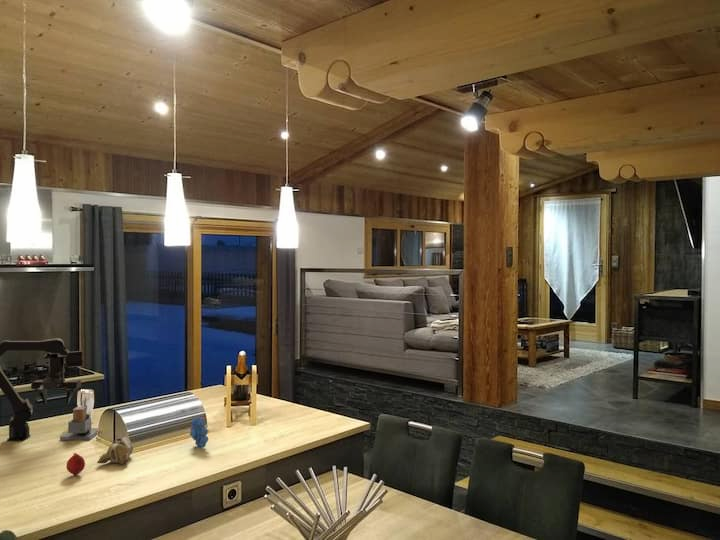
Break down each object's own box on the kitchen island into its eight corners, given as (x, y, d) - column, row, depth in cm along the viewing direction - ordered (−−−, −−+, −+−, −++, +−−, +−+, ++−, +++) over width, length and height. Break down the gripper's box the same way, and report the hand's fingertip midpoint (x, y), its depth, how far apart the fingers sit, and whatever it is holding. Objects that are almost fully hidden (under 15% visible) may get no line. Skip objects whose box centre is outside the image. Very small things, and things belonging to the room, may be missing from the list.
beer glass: (77, 422, 266) (77, 390, 266) (93, 420, 269) (94, 388, 269) (76, 426, 260) (77, 393, 260) (94, 424, 263) (94, 392, 262)
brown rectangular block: (72, 430, 244) (72, 409, 243) (76, 427, 248) (76, 407, 248) (82, 430, 244) (83, 409, 244) (86, 427, 248) (86, 406, 248)
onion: (80, 470, 207) (80, 448, 207) (87, 475, 204) (88, 452, 204) (63, 475, 203) (63, 452, 203) (71, 479, 199) (71, 456, 199)
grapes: (182, 445, 237) (182, 416, 236) (197, 441, 241) (198, 413, 241) (196, 452, 228) (196, 422, 228) (212, 448, 233) (212, 419, 233)
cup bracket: (60, 440, 241) (60, 420, 240) (72, 431, 252) (72, 412, 252) (89, 440, 241) (89, 419, 241) (100, 431, 253) (100, 412, 253)
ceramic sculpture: (139, 432, 225) (124, 447, 210) (140, 453, 226) (124, 470, 211) (112, 431, 225) (94, 447, 210) (113, 453, 226) (95, 470, 211)
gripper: (24, 371, 239) (24, 409, 239) (71, 371, 240) (71, 409, 240) (37, 366, 250) (37, 402, 250) (81, 366, 251) (81, 402, 252)
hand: (56, 404), depth 248 cm, fingers open, 9 cm apart
